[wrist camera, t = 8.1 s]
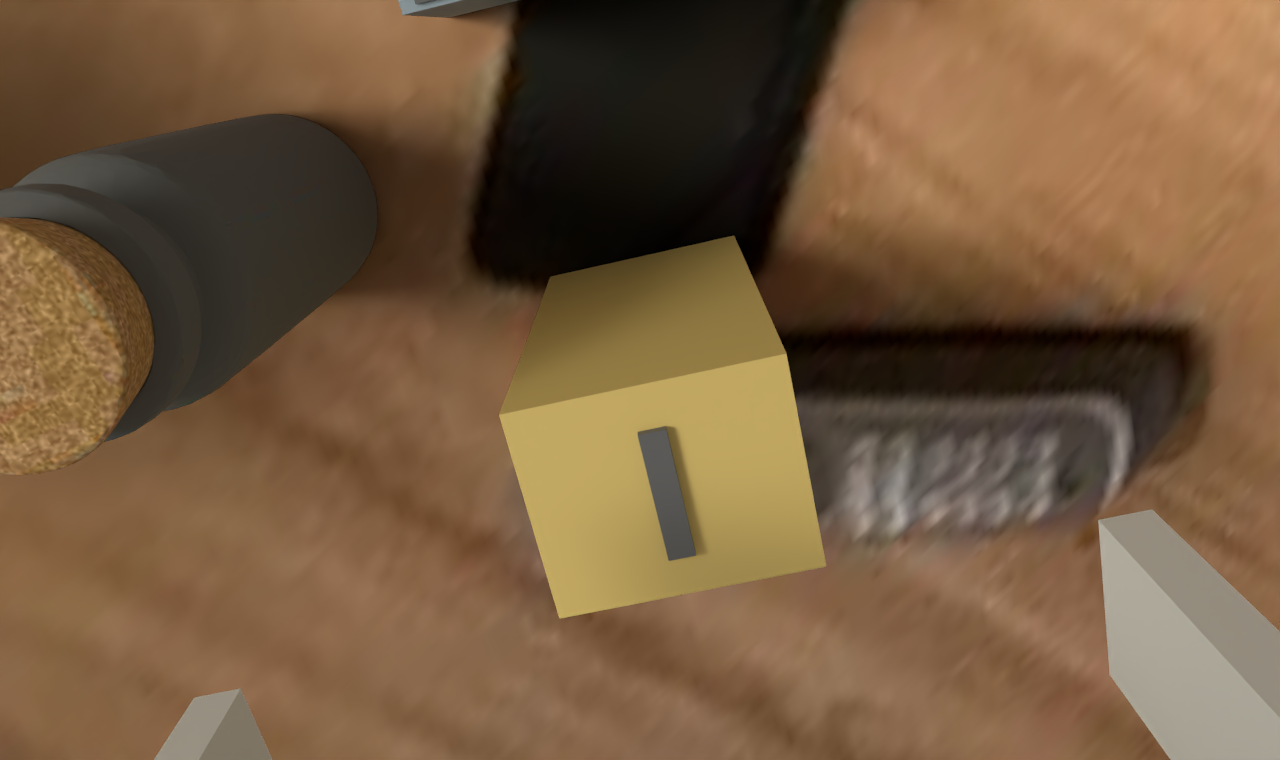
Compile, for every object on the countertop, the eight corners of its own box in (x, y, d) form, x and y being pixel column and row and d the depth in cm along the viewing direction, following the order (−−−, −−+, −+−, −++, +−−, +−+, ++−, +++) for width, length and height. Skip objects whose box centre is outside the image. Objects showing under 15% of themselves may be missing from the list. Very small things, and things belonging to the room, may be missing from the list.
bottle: (359, 101, 30) (101, 163, 16) (396, 287, 32) (196, 490, 18) (173, 123, 30) (-244, 203, 16) (220, 306, 32) (-114, 520, 18)
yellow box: (550, 276, 32) (497, 418, 20) (733, 235, 31) (787, 356, 20) (587, 417, 33) (558, 623, 22) (762, 380, 33) (827, 570, 21)
